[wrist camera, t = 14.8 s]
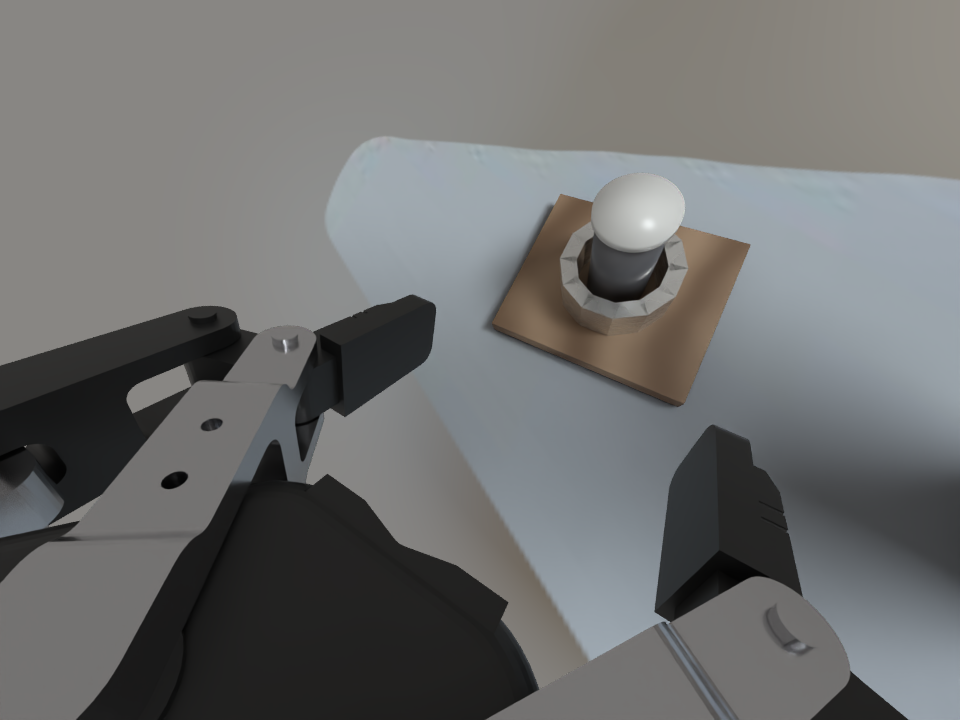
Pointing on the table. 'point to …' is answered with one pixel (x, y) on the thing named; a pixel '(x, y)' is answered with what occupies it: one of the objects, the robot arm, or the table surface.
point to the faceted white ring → (622, 314)
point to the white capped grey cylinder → (631, 233)
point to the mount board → (666, 342)
